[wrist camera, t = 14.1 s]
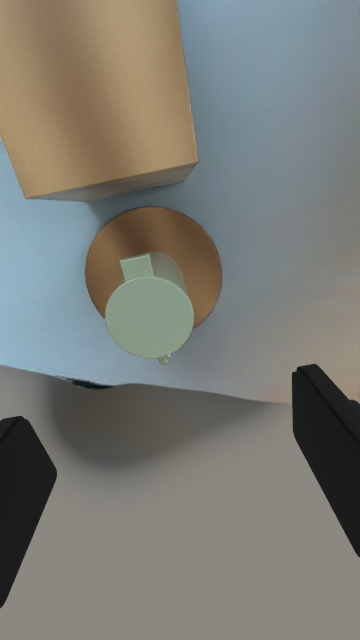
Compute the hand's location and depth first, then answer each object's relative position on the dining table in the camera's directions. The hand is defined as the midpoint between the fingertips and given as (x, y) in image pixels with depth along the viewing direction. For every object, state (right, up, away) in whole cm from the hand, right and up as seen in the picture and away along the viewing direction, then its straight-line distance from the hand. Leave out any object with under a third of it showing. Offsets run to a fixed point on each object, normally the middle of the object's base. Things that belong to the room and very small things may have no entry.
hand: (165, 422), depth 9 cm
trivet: (-2, +8, +20) cm, 22 cm away
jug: (-2, +8, +20) cm, 21 cm away
